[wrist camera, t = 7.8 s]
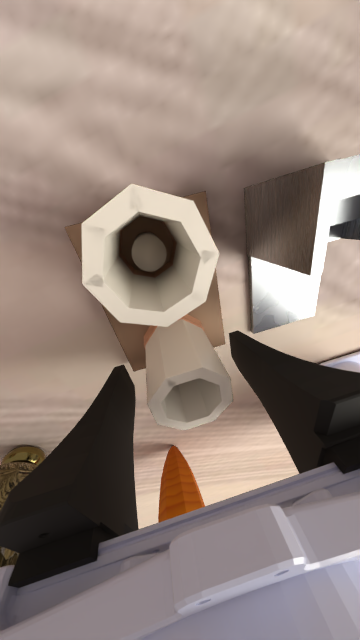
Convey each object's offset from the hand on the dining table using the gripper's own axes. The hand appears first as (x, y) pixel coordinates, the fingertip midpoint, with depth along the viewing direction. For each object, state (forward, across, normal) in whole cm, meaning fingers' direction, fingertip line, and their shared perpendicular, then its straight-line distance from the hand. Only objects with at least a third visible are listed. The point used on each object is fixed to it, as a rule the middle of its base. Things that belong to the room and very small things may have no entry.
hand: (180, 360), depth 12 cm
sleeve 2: (+3, 0, 0) cm, 3 cm away
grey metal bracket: (+4, -10, -3) cm, 11 cm away
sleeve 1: (+3, 0, -7) cm, 7 cm away
